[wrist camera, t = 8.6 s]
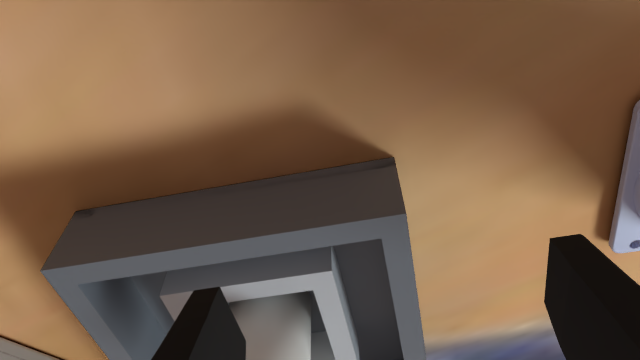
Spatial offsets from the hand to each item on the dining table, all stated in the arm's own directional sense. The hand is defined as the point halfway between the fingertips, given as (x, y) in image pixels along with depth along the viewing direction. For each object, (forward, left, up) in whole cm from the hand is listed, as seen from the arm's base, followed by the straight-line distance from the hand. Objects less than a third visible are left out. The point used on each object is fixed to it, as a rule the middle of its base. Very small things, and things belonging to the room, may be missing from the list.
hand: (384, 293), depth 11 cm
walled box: (+6, +10, -9) cm, 15 cm away
